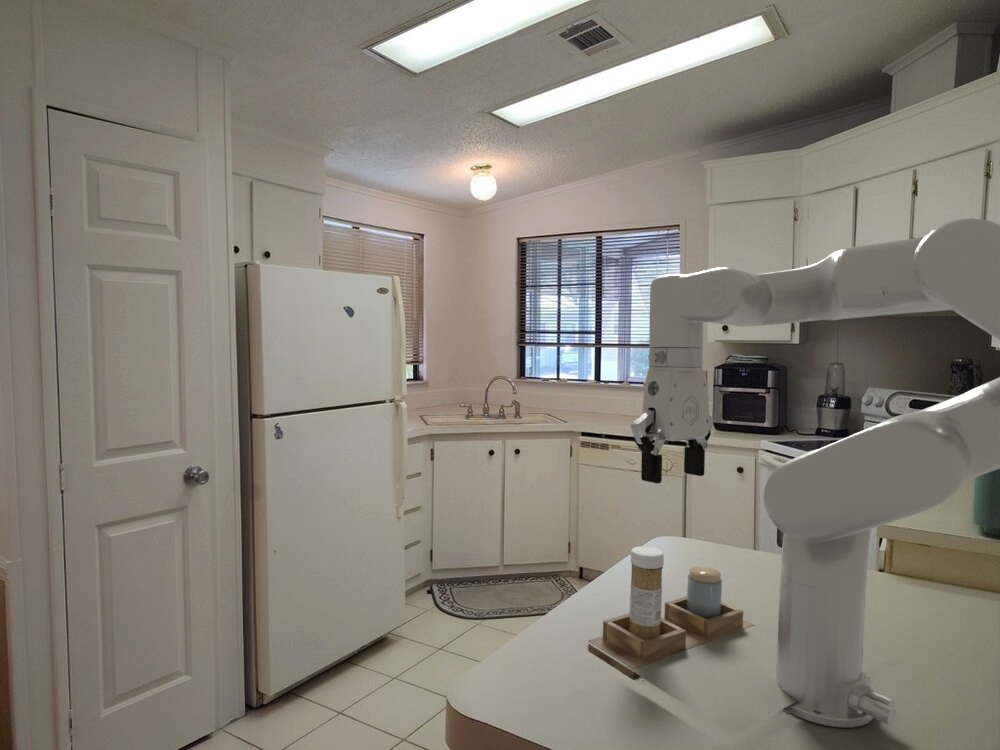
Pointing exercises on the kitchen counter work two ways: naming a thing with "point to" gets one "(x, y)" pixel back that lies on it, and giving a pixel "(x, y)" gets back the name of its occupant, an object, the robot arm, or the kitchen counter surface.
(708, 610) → the spice pot
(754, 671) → the kitchen counter surface
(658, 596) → the sprinkles bottle
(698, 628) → the spice rail
